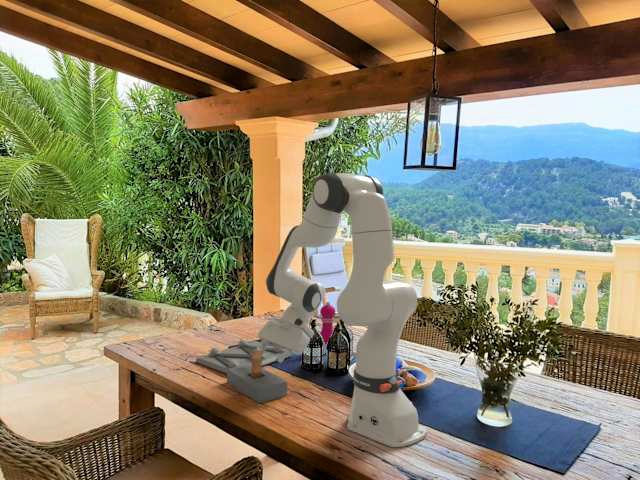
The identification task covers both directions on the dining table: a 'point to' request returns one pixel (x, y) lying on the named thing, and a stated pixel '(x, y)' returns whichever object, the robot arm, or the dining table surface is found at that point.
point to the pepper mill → (327, 321)
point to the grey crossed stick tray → (238, 356)
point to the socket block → (257, 383)
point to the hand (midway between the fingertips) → (269, 357)
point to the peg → (256, 364)
